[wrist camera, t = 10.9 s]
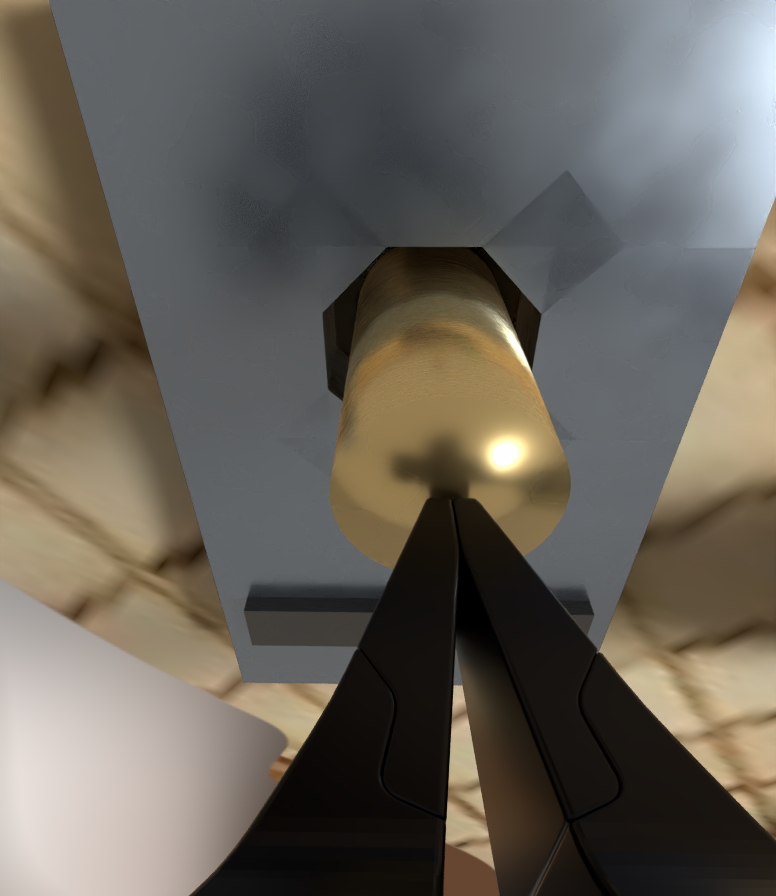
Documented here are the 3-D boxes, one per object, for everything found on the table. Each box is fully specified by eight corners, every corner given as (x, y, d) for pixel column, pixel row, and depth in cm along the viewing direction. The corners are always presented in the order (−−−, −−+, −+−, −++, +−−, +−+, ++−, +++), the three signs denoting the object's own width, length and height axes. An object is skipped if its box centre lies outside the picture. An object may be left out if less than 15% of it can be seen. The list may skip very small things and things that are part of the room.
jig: (776, -6, 11) (882, -18, 9) (569, 634, 25) (588, 700, 22) (105, -4, 12) (26, -16, 9) (256, 630, 25) (240, 696, 22)
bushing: (508, 238, 14) (595, 397, 8) (490, 373, 17) (547, 579, 10) (355, 237, 14) (321, 395, 8) (360, 372, 17) (336, 576, 10)
